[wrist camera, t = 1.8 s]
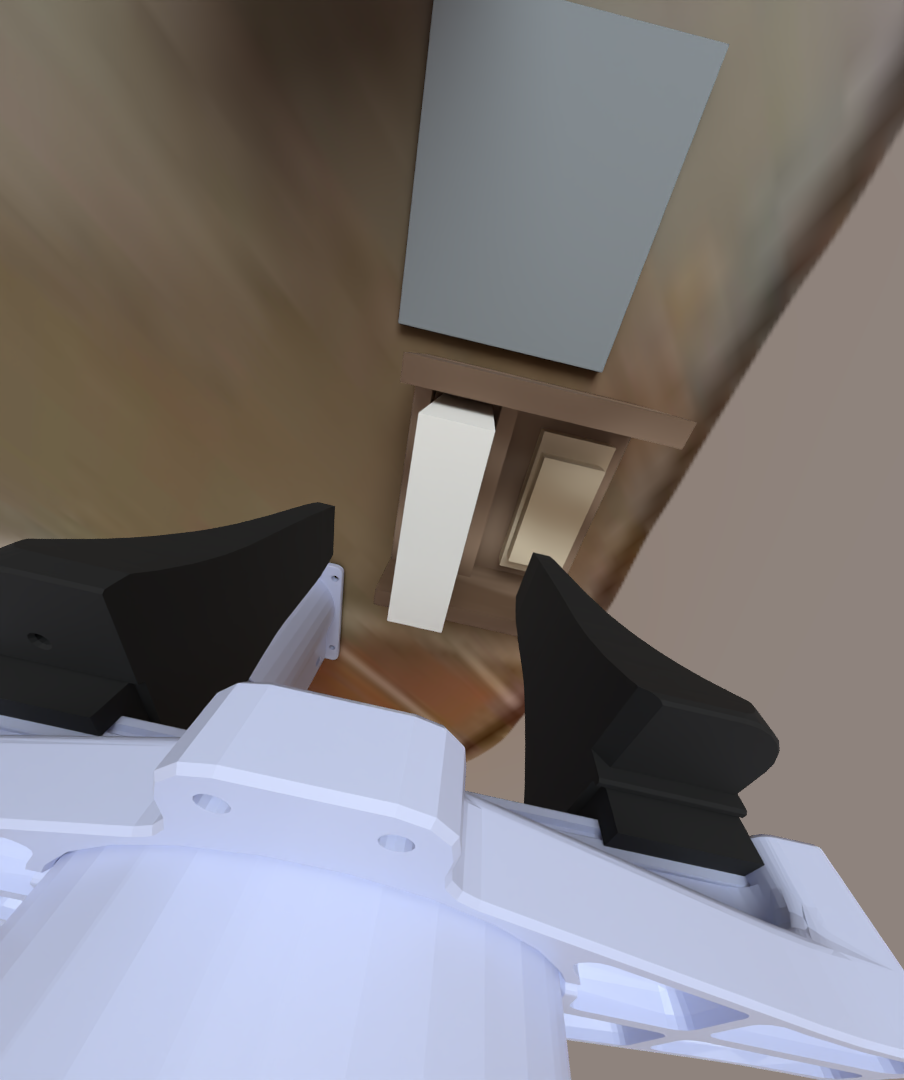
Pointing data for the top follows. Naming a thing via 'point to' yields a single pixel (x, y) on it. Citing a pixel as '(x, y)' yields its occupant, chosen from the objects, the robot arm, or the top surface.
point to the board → (439, 507)
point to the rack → (515, 469)
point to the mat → (545, 170)
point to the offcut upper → (554, 508)
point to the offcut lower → (560, 447)
